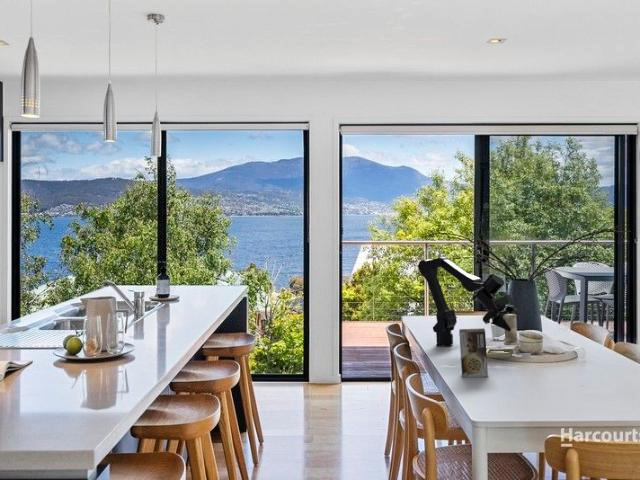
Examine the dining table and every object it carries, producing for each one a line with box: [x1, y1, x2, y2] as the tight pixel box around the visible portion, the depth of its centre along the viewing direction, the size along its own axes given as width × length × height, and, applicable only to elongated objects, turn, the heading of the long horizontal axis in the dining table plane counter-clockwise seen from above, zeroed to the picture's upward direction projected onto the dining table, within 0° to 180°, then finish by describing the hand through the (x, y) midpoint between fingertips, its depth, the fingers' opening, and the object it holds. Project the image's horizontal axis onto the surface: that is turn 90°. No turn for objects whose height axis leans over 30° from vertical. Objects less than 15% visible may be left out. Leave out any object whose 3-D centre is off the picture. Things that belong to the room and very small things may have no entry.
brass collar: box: [486, 349, 513, 359], centre depth 266 cm, size 10×10×2 cm
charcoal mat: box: [487, 352, 532, 360], centre depth 271 cm, size 24×24×1 cm
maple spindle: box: [503, 313, 520, 346], centre depth 274 cm, size 6×6×12 cm
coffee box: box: [458, 327, 489, 378], centre depth 237 cm, size 9×6×16 cm
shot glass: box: [490, 323, 505, 339], centre depth 305 cm, size 7×7×7 cm
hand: (513, 329), depth 273 cm, fingers closed on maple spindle, 5 cm apart
